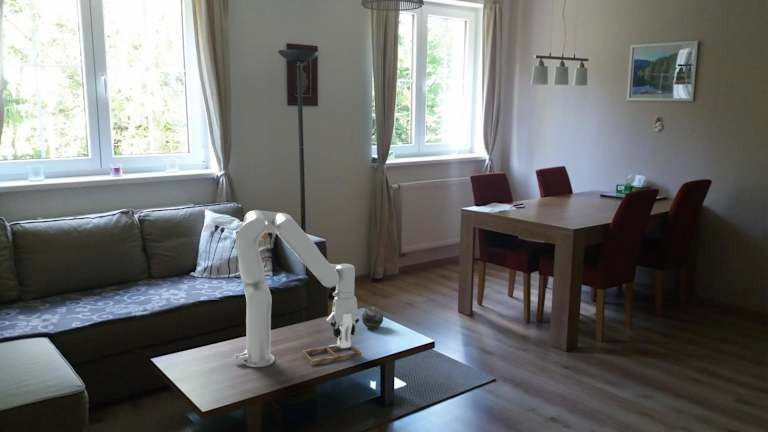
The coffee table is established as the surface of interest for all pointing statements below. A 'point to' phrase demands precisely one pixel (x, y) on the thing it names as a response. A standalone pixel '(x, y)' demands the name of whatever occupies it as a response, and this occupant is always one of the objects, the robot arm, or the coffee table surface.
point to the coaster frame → (330, 351)
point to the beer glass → (345, 331)
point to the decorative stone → (372, 317)
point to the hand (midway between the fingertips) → (344, 335)
